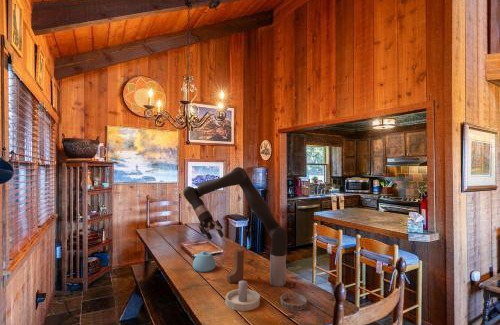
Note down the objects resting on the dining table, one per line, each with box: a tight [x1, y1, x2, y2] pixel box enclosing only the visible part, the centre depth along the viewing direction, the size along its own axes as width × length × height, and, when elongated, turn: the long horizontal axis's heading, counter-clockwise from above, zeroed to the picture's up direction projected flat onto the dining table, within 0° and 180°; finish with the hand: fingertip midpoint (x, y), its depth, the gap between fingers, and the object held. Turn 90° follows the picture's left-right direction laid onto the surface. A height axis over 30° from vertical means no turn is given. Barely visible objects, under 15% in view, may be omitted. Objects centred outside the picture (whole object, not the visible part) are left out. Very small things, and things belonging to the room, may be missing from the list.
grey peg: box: [238, 279, 248, 302], centre depth 145 cm, size 4×4×9 cm
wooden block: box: [226, 248, 245, 284], centre depth 171 cm, size 9×4×18 cm, turn 119°
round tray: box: [224, 288, 261, 312], centre depth 145 cm, size 17×17×3 cm
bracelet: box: [279, 292, 308, 311], centre depth 144 cm, size 14×14×3 cm
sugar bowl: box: [192, 250, 216, 273], centre depth 190 cm, size 15×15×12 cm
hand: (216, 237), depth 159 cm, fingers open, 8 cm apart
